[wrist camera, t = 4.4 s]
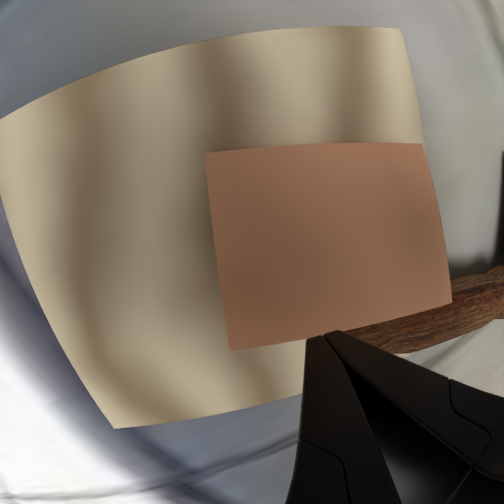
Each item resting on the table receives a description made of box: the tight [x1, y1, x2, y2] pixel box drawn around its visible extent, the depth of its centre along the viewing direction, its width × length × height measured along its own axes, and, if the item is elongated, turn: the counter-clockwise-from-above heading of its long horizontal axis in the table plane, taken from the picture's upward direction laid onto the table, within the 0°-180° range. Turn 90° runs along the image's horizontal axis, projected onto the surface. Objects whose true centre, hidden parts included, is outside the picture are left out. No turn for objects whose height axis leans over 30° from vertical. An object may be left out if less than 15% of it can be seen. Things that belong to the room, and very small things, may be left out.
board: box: [0, 26, 426, 428], centre depth 15 cm, size 22×20×1 cm
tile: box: [204, 143, 452, 351], centre depth 13 cm, size 2×8×10 cm
